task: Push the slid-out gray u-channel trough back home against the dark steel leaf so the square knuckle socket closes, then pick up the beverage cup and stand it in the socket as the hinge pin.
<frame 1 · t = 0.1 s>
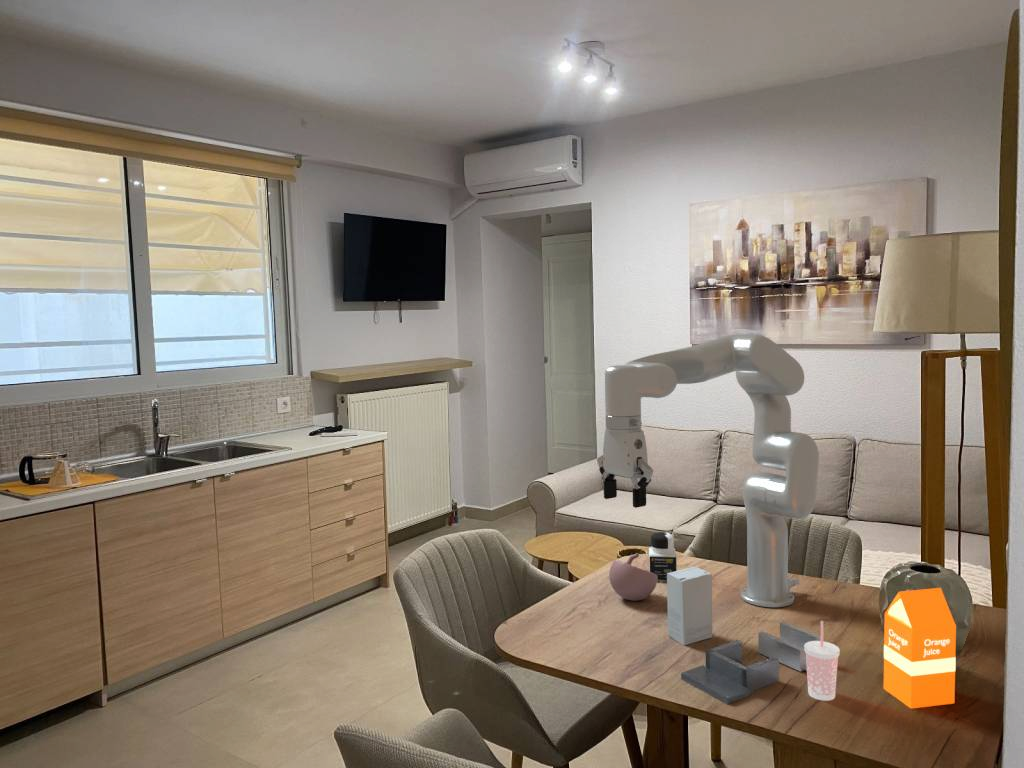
hand: (624, 502, 162), 31 cm above the table, tool pointing down, fingers open, 9 cm apart
orange juice: (918, 696, 138), on the table
skincare box: (690, 638, 166), on the table
gray u-channel trough: (790, 645, 154), point 3 cm above the table, slide at 6.0 cm
medicine bottle: (662, 577, 205), on the table
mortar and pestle: (633, 599, 190), on the table
fixed leaf: (744, 675, 148), on the table
beverage cup: (821, 695, 140), on the table
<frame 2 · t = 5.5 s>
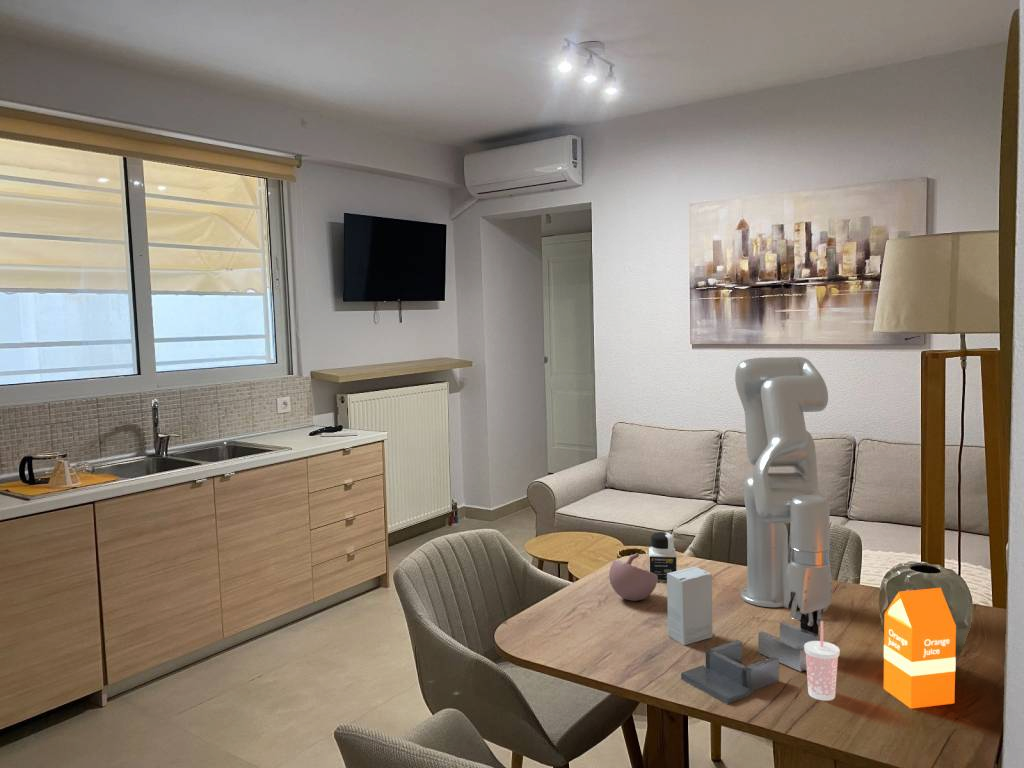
hand: (809, 641, 157), 2 cm above the table, tool pointing down, fingers closed
gray u-channel trough: (790, 645, 154), point 3 cm above the table, slide at 6.0 cm, touching gripper
everything else where it was.
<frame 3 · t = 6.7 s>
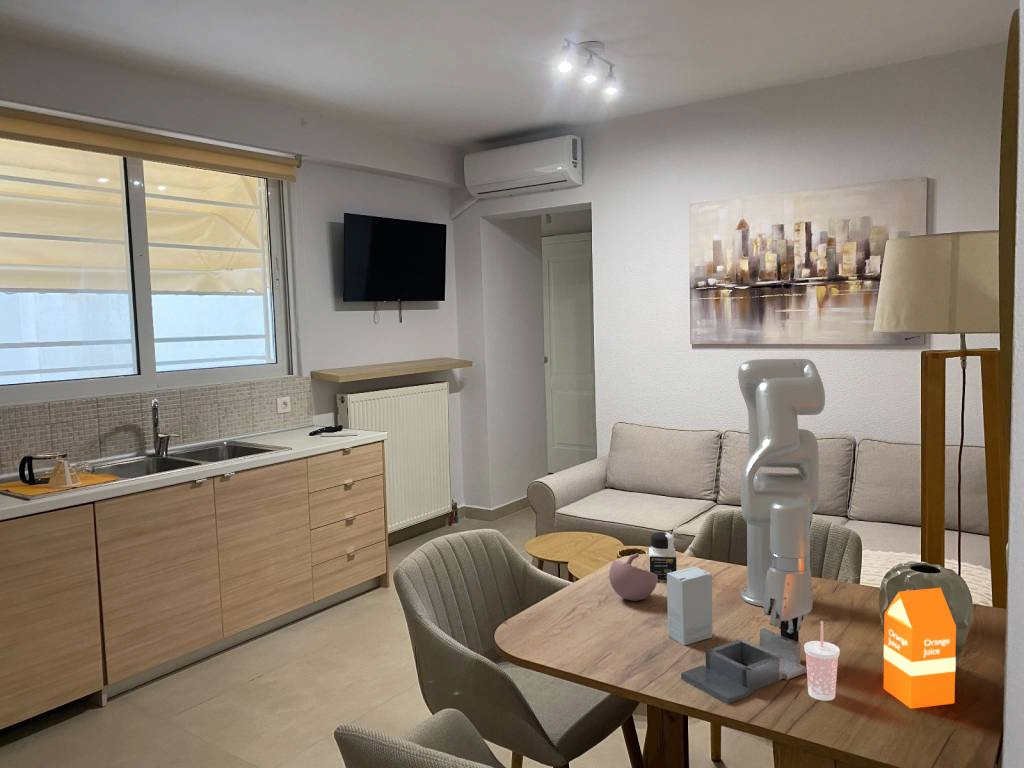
hand: (789, 648, 154), 2 cm above the table, tool pointing down, fingers closed
gray u-channel trough: (769, 652, 151), point 3 cm above the table, slide at -0.2 cm, touching gripper
everything else where it was.
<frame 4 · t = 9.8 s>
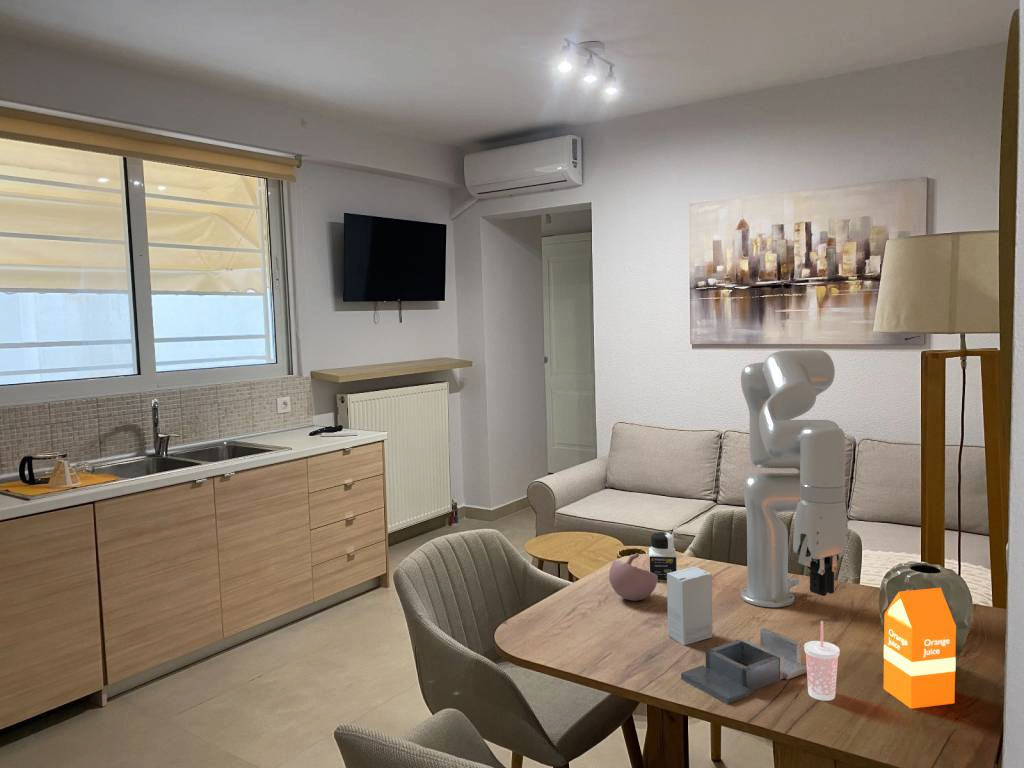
hand: (821, 592, 138), 19 cm above the table, tool pointing down, fingers closed
gray u-channel trough: (770, 652, 151), point 3 cm above the table, slide at 0.0 cm
everything else where it was.
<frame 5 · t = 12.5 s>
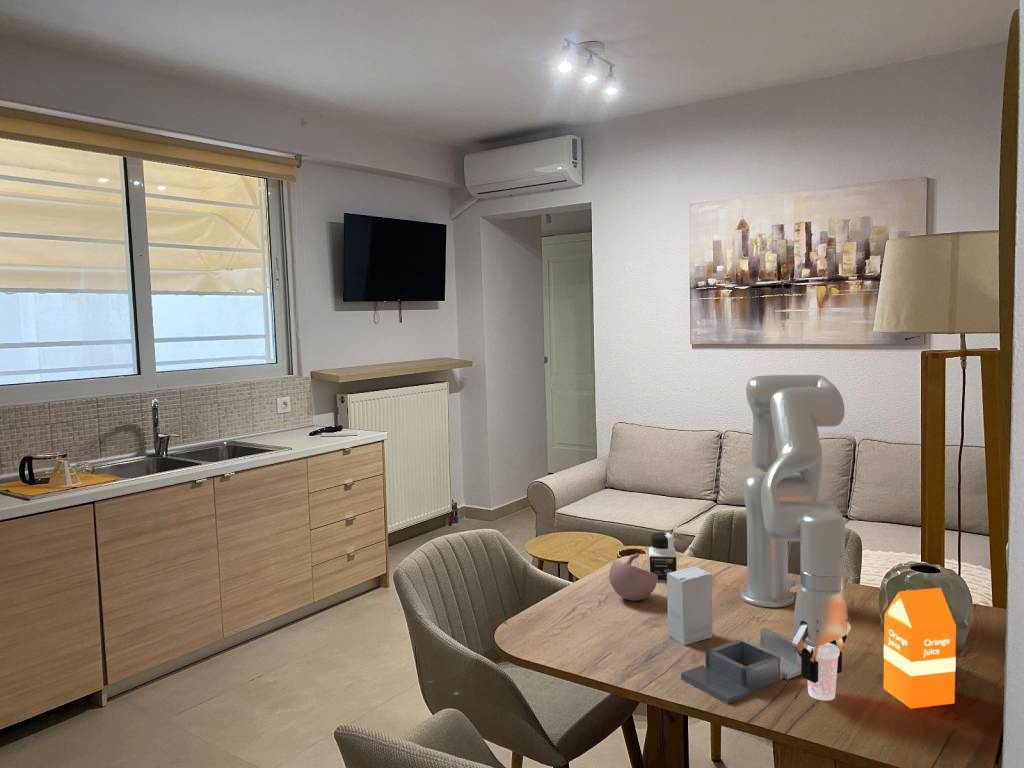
hand: (821, 674, 139), 4 cm above the table, tool pointing down, fingers closed on beverage cup, 6 cm apart
beverage cup: (821, 695, 140), on the table, touching gripper
everything else where it was.
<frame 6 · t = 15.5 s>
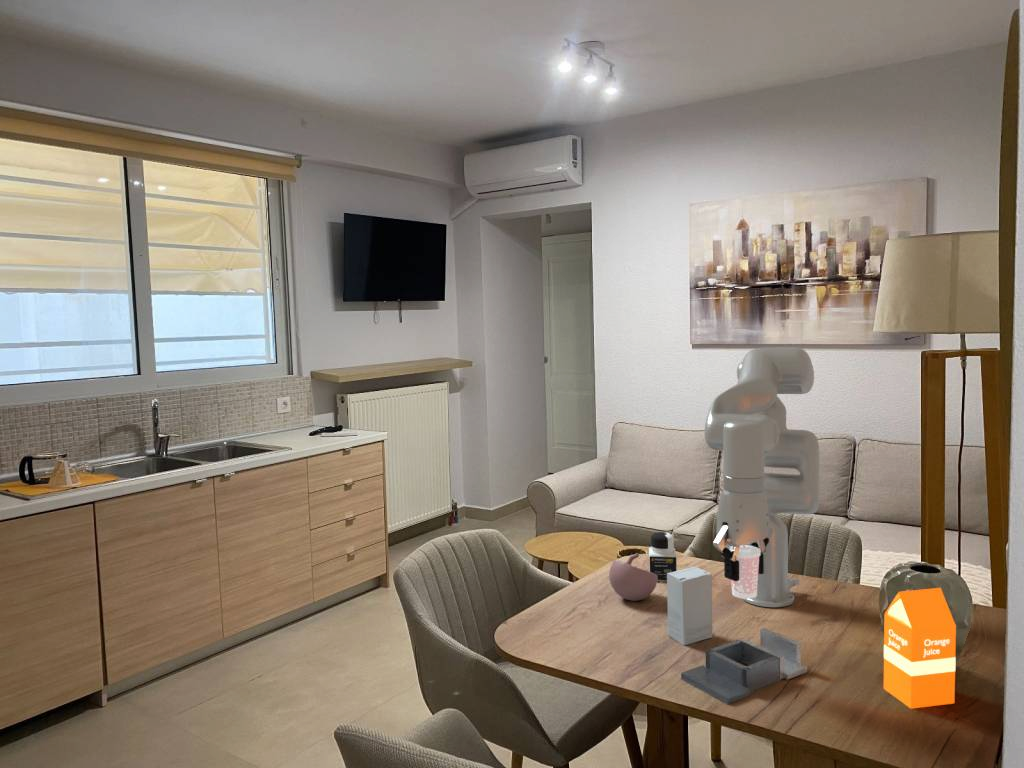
hand: (744, 574, 146), 20 cm above the table, tool pointing down, fingers closed on beverage cup, 6 cm apart
beverage cup: (744, 595, 146), point 16 cm above the table, touching gripper
everything else where it was.
when the fingers open (6 cm above the table, at t = 18.5 s): beverage cup drops 2 cm, on the table.
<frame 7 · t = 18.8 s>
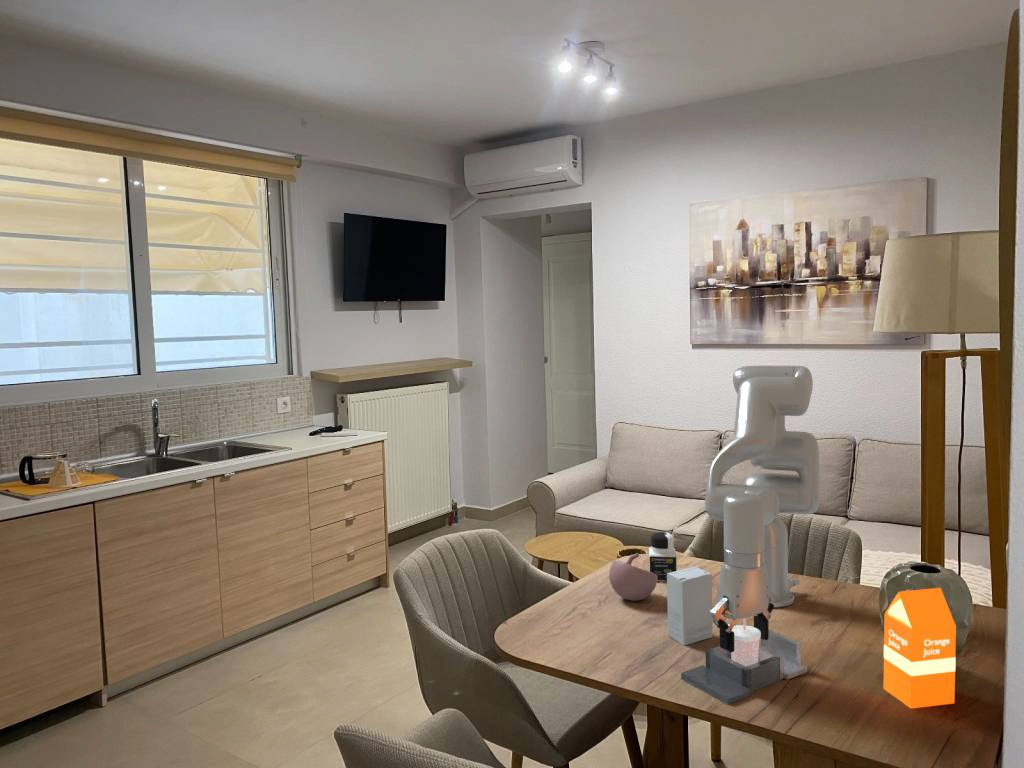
hand: (744, 643, 147), 7 cm above the table, tool pointing down, fingers open, 9 cm apart
beverage cup: (744, 676, 148), on the table
everything else where it was.
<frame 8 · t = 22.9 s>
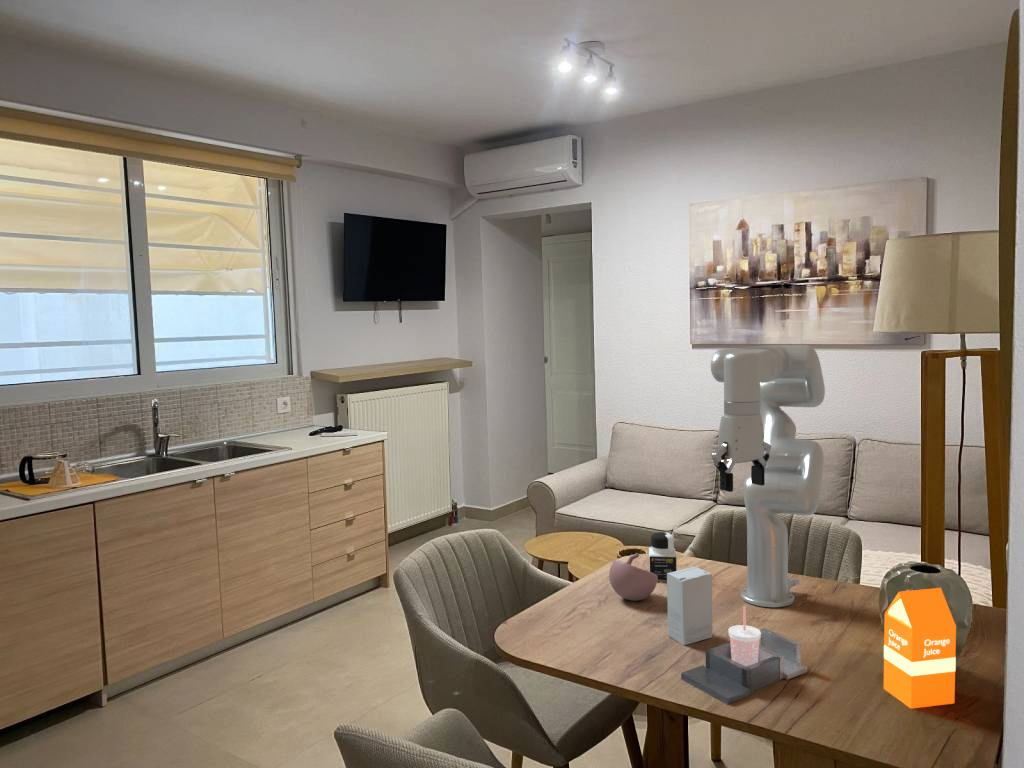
hand: (742, 487, 163), 33 cm above the table, tool pointing down, fingers open, 9 cm apart
nothing on the table moved.
at the end: gray u-channel trough slide at 0.0 cm; beverage cup 0.2 cm off-centre on the fixed leaf, point 0.0 cm above the fixed leaf's base; beverage cup tilted 0° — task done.
